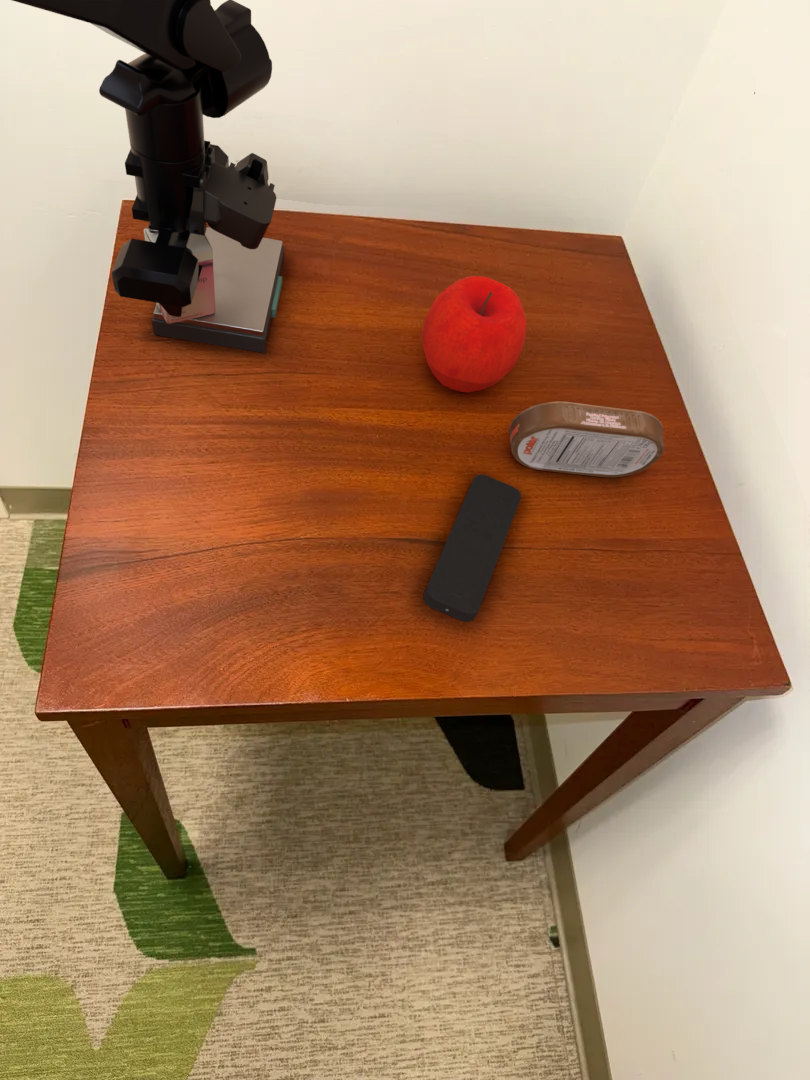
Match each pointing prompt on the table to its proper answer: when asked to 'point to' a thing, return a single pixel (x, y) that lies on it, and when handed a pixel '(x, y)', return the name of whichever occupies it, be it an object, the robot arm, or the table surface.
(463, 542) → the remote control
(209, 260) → the small box
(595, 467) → the tin
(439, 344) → the apple
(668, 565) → the table surface
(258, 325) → the scale
